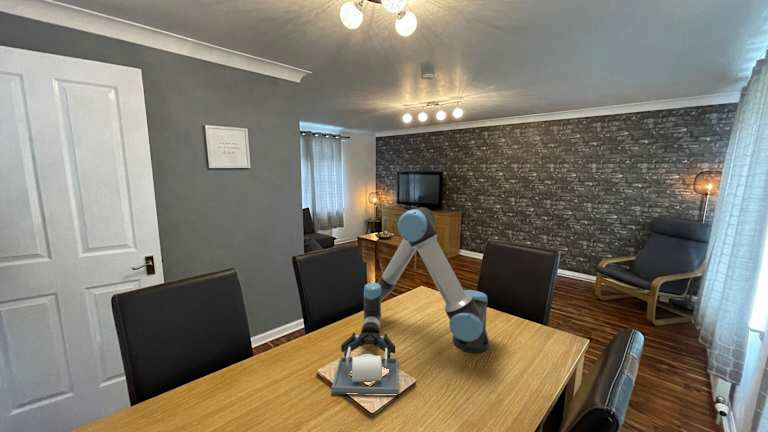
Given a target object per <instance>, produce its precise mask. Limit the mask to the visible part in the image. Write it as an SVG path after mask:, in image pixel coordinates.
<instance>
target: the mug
mask: <svg viewBox="0 0 768 432" xmlns="http://www.w3.org/2000/svg"><path fill="white" fill-rule="evenodd" d="M351 357H352V382H353V383H354V382H372V381H381V380H382V362H381V358H382V357H381V355H374V354H371V353H364V354H361V355H359V356H358V355H357V356H351Z"/></svg>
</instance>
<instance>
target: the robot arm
mask: <svg viewBox="0 0 768 432" xmlns="http://www.w3.org/2000/svg"><path fill="white" fill-rule="evenodd" d="M436 222H437V221H436V216H435V213H434V212H433V211H432V210H431V209H429V208H428V207H424V206H423V207H422V206H421V207H416V208H413V209H409V210H406V211H405V212H404V213H403V214H402V215H400V217H399V218H398V221H397V231H398V233H399V235H400V237H401V238H402V240H401V242H400V244H399V246H398V248H397V249H396V251H395V252H394V254H393V256H392V257H391V259H390V261H389V263H388V265H387V266H386V268H385V270H384V272H383V273H382V275H381V277H380V278H379V280H378V281H377V282H369V283H366V284H365V285H364V286H363V287H364V288H363V322H362V325H361V326H362V327H361V330H360V334H356V333H355V332H353V333H352V334H351V335H350V337H348V338H347V339H346V340H345V341H344V342H343V343H341V345H340V351H341V352H342V353H343V357H346V365H348V363H349V359H350V357H351V355H352V353H351V352H352V351H355V349H358V348H360V347H363V346H366V345H370V346H375V347H376V348H379V349H380V350H381V351H383V352H384V358H385V366H387V358H391V354H395V353H396V345H395V344H394V343H393V342H392V340H391V339H390V338H389V337H388V334H387V333H383V335H381V334H380V333H381V320H382V310H381V309H382V301H383V300H384V299H385V298H387V297H388V295H390V294H391V293H393V291H394V290H395V287H396V284H397V282H398V280H399V279H400V277H401V276H402V274H403V272H404V271H405V269H406V267H407V266H408V264H409V263H410V262H411V259H412V257H413V256H414V255H415V253H416V251H417V252H418V254H419V256H420V257H421V260H422V262H423V263H424V266H425V267H426V269H427V271H428V273H429V275H430V276H431V279H432V280H433V283H434V284H435V286H436V288H437V291H438V292H439V293H440V296H441V297H442V299H443V301H444V303H445V307H444V311H445V313H446V315H447V317H448V319H449V330H450V332H451V334H452V344H453V345H454V346H455V347H456V348H458V349H460V350H462V351H464V352H467V353H472V354H480V353H484V352H487V350H488V349H489V347H490V339H489V336H488V332H487V327H486V326H487V313H488V312H487V311H488V308H487V307H488V295H487V294H486V293H484V292H482V291H479V290H472V289H464V288H463V286H462V285H461V283H460V280H459V279H458V277H457V276H456V273H455V271H454V270H453V268H452V266H451V265H450V263H449V261H448V259H447V257H446V255H445V253H444V251H443V249H442V248H441V246H440V244H439V242H438V240H437V239H438V238H437V237H438V233H437V230H436V228H435V226H436Z"/></svg>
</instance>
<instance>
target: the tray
mask: <svg viewBox="0 0 768 432" xmlns="http://www.w3.org/2000/svg"><path fill="white" fill-rule="evenodd" d="M352 357H353V356H350V359H349V363H348V365H346V357H344V356H341V355H340V357H339V360H338V365H337V368H336V369H335V370H336V371H335V375H334V377H333V381H332V384H331V395H339V396H340V395H343V396H346V395H345V393H358V394H397V395H398V396H399V394H400V393H399V392H400V391H399V389H400V388H399V360H398V357H390V358H387V366H385V357H381V362H382V367H384V368H386V369H389V373H388V375H387V376H386V377H385V378H383V379H382V380H381V381H379V382H378V383H376V384H375V385H373V386H372V387H363V386H362V385H361V384H359V383H358V382H354V383H353V382H352V377H351V376H350V372H351V371H352Z"/></svg>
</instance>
